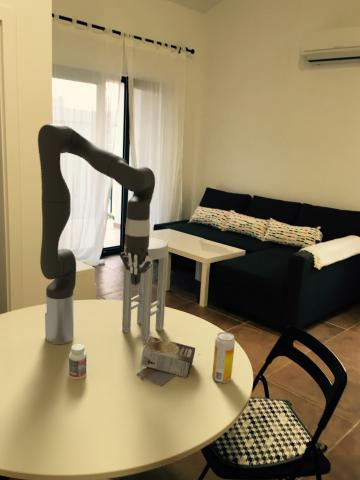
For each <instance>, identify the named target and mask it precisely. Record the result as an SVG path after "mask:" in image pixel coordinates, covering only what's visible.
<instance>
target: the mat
mask: <svg viewBox="0 0 360 480" xmlns="http://www.w3.org/2000/svg"><path fill="white" fill-rule="evenodd" d="M150 369H151V368H150V367H147V366H145V367H144V368H143V369H141V370H140V371H138V372H136V375H137V376H139V377H141V375H142V374H144V373H145V372H147V371H148V370H150ZM175 377H177V375H176V374H172V373H169V372H165V371H161V370H158V369H157V370H156V371H154V372H153V373H151V374H150V375H148V376H147V377H145V379H144V380H147V381H149V382H152V383H153V384H156V385H158V386H160V387H163V386H164V385H166V384H167V383H168V382H170V381H171V380H172V379H174V378H175Z"/></svg>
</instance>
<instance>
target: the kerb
mask: <svg viewBox="0 0 360 480" xmlns="http://www.w3.org/2000/svg"><path fill="white" fill-rule="evenodd" d="M156 370H157V369H154V368H151V369H150V370H148V371H147V372H145V373H144V374H142V375H141V376H140V380H142V381H144V380H146V379H145V377H147V376H148V375H150V374H151V373H153V372H154V371H156Z"/></svg>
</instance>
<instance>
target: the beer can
mask: <svg viewBox="0 0 360 480" xmlns="http://www.w3.org/2000/svg"><path fill="white" fill-rule="evenodd" d="M214 340H215V341H214V352H213V362H212V375H211V376H212V378H213V379H214V381H215V382H217V383H222V384H225V383H228V382H230V380H231V379H232V374H233V373H232V372H233V365H234V364H233V363H234V362H233V361H234V356H235V355H234V354H235V345H236V344H235V343H236V339H235V336H234V334H232V333H230V332H226V331H222V332H221V331H220V332H219V333H217V334H216V337H215V338H214Z"/></svg>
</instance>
